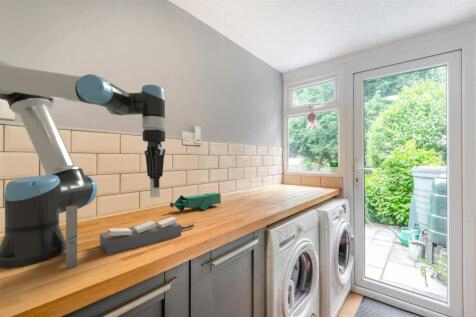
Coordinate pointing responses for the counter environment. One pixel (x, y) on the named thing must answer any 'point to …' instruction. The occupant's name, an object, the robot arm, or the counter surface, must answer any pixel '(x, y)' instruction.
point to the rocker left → (119, 231)
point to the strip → (139, 238)
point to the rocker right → (167, 222)
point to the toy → (197, 201)
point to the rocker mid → (144, 226)
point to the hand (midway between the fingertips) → (155, 196)
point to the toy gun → (71, 236)
